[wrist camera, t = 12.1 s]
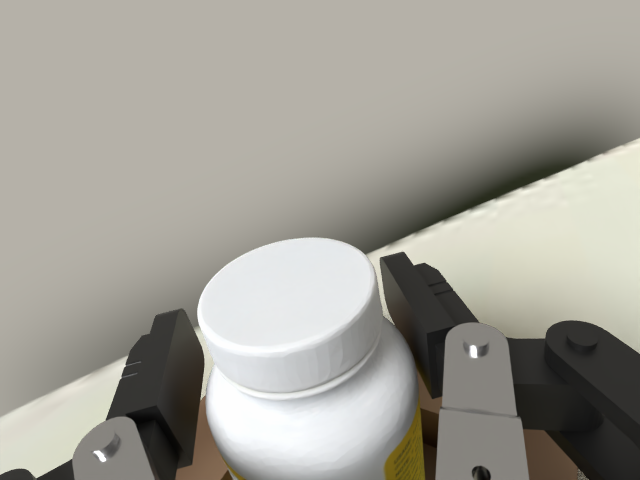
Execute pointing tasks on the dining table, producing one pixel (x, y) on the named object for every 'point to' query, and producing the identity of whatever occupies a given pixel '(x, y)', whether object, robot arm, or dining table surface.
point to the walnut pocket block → (541, 451)
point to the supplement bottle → (308, 368)
